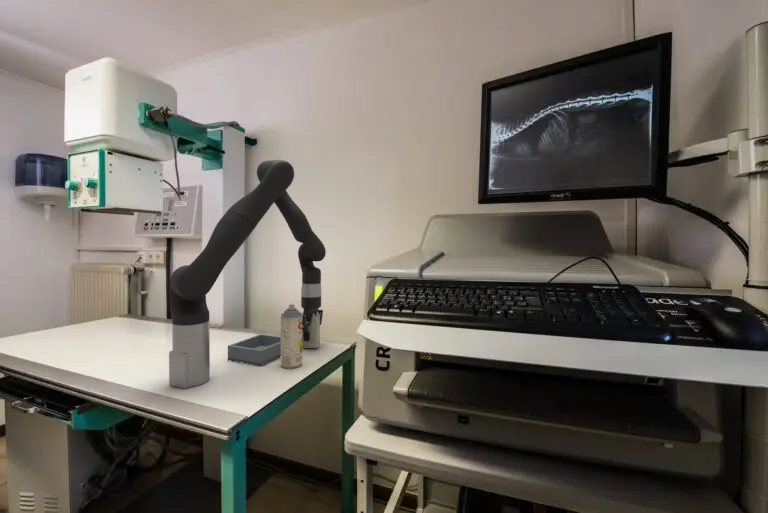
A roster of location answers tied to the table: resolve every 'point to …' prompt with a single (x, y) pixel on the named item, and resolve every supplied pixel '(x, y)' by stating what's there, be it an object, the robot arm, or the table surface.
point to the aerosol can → (291, 338)
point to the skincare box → (313, 333)
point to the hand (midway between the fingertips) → (310, 338)
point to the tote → (256, 350)
